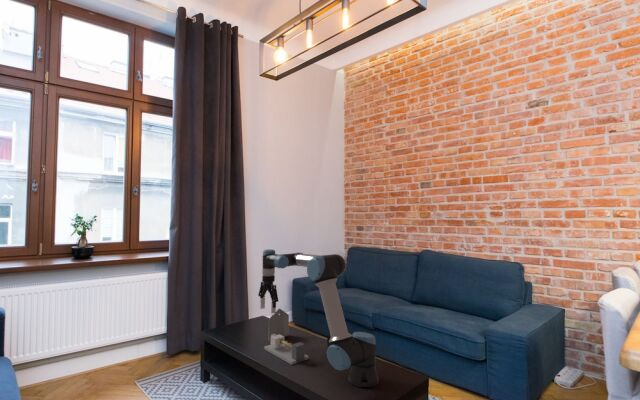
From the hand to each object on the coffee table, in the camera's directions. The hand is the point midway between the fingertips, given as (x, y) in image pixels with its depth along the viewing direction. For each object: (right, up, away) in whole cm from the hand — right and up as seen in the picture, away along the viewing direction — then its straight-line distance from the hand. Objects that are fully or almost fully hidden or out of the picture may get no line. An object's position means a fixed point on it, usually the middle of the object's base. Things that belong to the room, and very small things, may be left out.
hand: (267, 310), depth 218 cm
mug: (+41, -23, -11) cm, 49 cm away
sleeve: (+6, -19, -4) cm, 20 cm away
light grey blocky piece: (+12, -22, -9) cm, 27 cm away
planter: (+2, -23, +18) cm, 30 cm away
